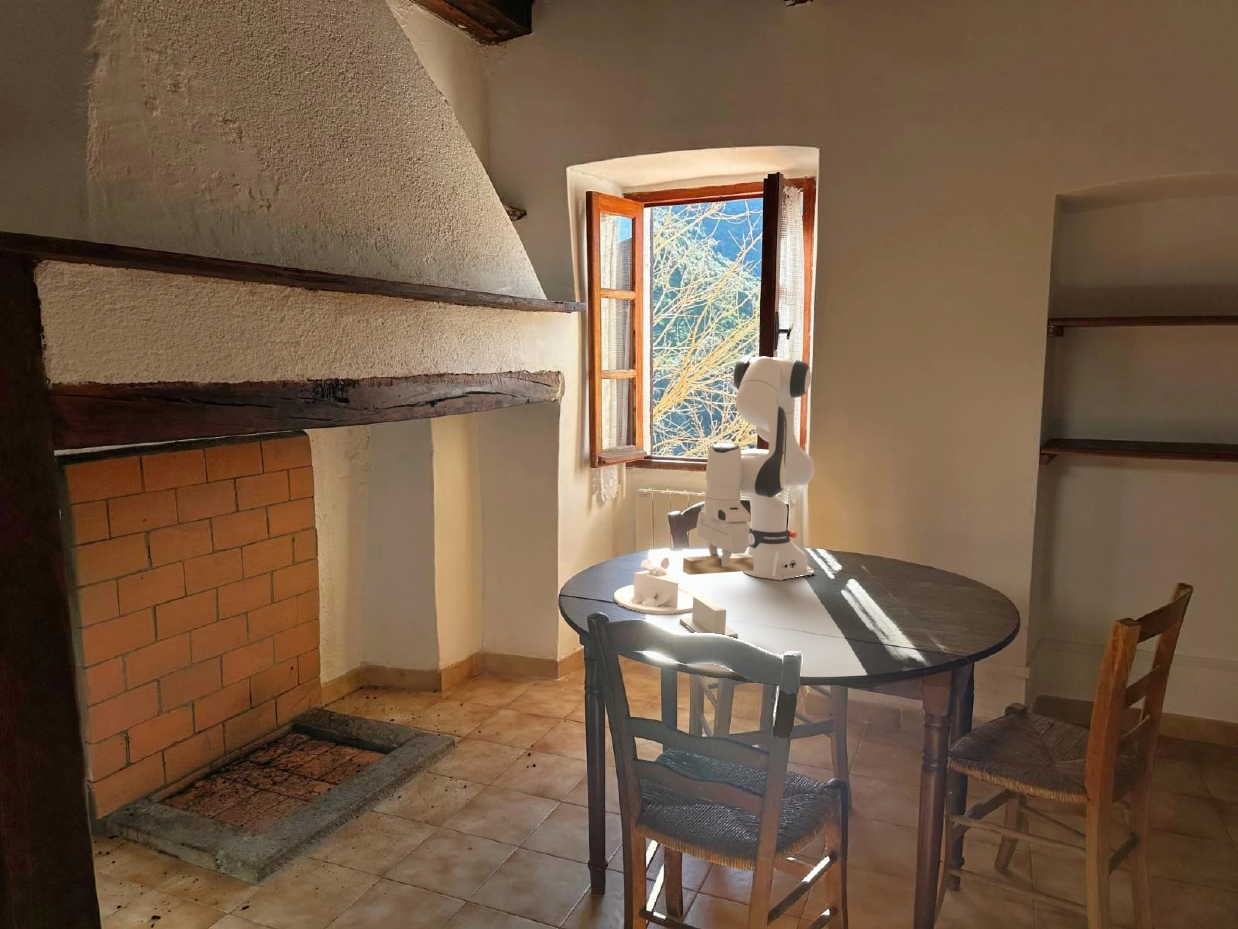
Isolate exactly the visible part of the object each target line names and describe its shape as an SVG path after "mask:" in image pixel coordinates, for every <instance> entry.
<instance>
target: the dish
mask: <svg viewBox="0 0 1238 929" xmlns="http://www.w3.org/2000/svg"><path fill="white" fill-rule="evenodd" d="M639 566H640V569H644V571H643V570H642V571H638V572H637V571H636V572H634V573H633V584H629V585H626V586H623V587H620V588H619V589H617V590H616V591H615V592H614V596H613V597H614V599H613V600H615V601H616V602H617V603H618V605H619V606H620V607H622V606H624V607H626V608H625V609H627V608H628V609H627V610H629V609H633V610H637V611H636V612H638V611H640V612H639V613H642V614H643V613H644V614H651V613H656V614H655V615H678V614H677V613H680V614H684V613H691V612H693V596H703V595H702V594H701V593H700V592H698V591H696V590H694V589H692V588H689V587H686V586H681V585H679V582H678V581H677V579H676V578H675V577H674V576H673V574H672V573H671V572H670V571H669V570H668V568H669V566H670V560H669V558H668V557H665V558H663V559H662V560H661V562H660V566H659V565H654V566H653V562H652V560H651V559H644V560H642V561H641V563H640V565H639ZM615 601H614V602H615ZM616 602H615V603H616ZM617 603H616V604H617ZM624 607H623V608H624ZM633 610H632V611H633ZM657 613H659V614H657ZM666 613H667V614H666ZM670 613H671V614H670ZM674 613H676V614H674Z"/></svg>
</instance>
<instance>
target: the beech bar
mask: <svg viewBox="0 0 1238 929" xmlns="http://www.w3.org/2000/svg"><path fill="white" fill-rule="evenodd" d="M722 555H723V554H722ZM722 555H721V554H719V556H710V555H705V556H703V555H702V556H688V557H687V556H685V557H683V559H682V560H683V564H682V572H683V573H686V574H687V575H689V576H691V575H706V574H721V573H723V574H724V573H737V572H743V571H753V566H754V557H753V556H751V555H748V554H747V553H741V554H732V555H731V557H730V559H729V565H728V566H726V567H723V566H721V565H720V558H722Z"/></svg>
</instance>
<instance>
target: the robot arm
mask: <svg viewBox="0 0 1238 929" xmlns="http://www.w3.org/2000/svg"><path fill="white" fill-rule="evenodd" d="M732 373H733V374H732V377H733V384H734V386H735V388H736V389H737V393H736V399H735V406H736V410H737V412H738V413H739V415H740V417H741V418H742V419H744V421H745V422H747V423H749V424H750V425H752V426H754V427H755V430H756V431H755V432H756V433H757V435H758V436H759V437H760V438H761V439H762V440H763V441H765V442H767V443H768V449H763V448H749V449H742V450H741V448H742V447H741V446H740V445H739V444H736V443H733V442H719V443H718V442H717V443H715V444H713V445H711V446H710V448H709V452H708V455H707V460H706V461H707V463H706V467H705V468H706V469H705V471H706V472H705V484H706V489H705V493H704V504H703V505H702V506H701V509H700V511H699V512H698V516H697V520H696V528H695V530H696V537H697V538H698V539H700V540H702V541H704V542H707V544H708V545H707V546H708V551H709V554H710V555H709V556H719V555H720V554H718V548H719V549H721V553H722V558H720V565H721V566H723V567H726V566H728V565H729V559H730V557H731V555H737V554H748V555H751V556H753V557H754V566H753V571H742V572H743V573H744V574H746V575H748V576H752V577H755V578H756V577H757V578H763V579H771V580H776V581H784V580H783V579H787V578H793V577H796V576H800V575H806V574H809V573H813V572H814V573H815V571H814V569H813V568H812V567H810V566H809V565H808V559H807V558H808V557H807V555H806V553H805V552H804V551H803V550H801V549H800V548H799V547H798V546H797V545H796V544H795V543H794V542H793V541H792V540H791V539H796V538H797V537H798V533H797V532H796V531H793V530H791V531H790V530H788V529H787V520H788V519H787V518H788V506H787V504H786V502H785V501H784V500H783V499H781V498H780V497H778V496H777V495H778V494H780V493H781V492H782V491H783V490H784V489H785V487H797V486H806V485H808V484H809V483H810V482H811V481H812V479H813V477H814V475H815V469H816V468H815V463H814V460H813V458H812V457H811V456H810V454H808V453H807V452H806V451H805V450H803V448H801V446H800V444H799V443H798V441H797V439H796V437H795V423H794V420H795V403H796V402H795V399H796V398H801V397H802V396H804V395H805V394H807V392H808V390H809V388H810V386H811V383H812V382H811V381H812V373H811V367H810V366H809V364H808V363H806V362H804V361H801V360H798V359H797V360H793V359H788V358H783V357H776V356H773V357H770V356H759V357H753V356H743V357H741V358H740V359H738V361H736V364H735V366H734V369H733V372H732ZM741 494H747V498H748V499H749V504H750V512H749V511H748V510H747V509H746V508H745V507H744V505H743V504H742V503H741V496H742V495H741ZM749 522H750V526H749V524H748V523H749ZM746 552H747V553H746ZM811 569H812V570H811ZM793 579H794V578H793ZM787 580H788V579H787Z"/></svg>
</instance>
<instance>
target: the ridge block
mask: <svg viewBox="0 0 1238 929" xmlns="http://www.w3.org/2000/svg"><path fill="white" fill-rule="evenodd" d="M691 612H692V613H691V615H692V616H691V617H685V618H679V623H680V624H681V623H682V624H683V625H682V624H681V625H682V626H684V625H685V626H688V627H689V628H690V629H691V630H692V631H691V633H693V632H697V633H715V634H722V635H727V636H729V637H737V638H736V639H738V637H739V633H738V632H736V631H735V630H733V629H732V628H730V627H728V626H727V625H726V624H727V622H726V621H727V609H726V608H724V607H722V606H721V605H719V604H717V603H716V602H715V601H713V600H712V599H710V598H708V597H707V596H705V595H702V596H693V611H691ZM685 626H684V627H685Z"/></svg>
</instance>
